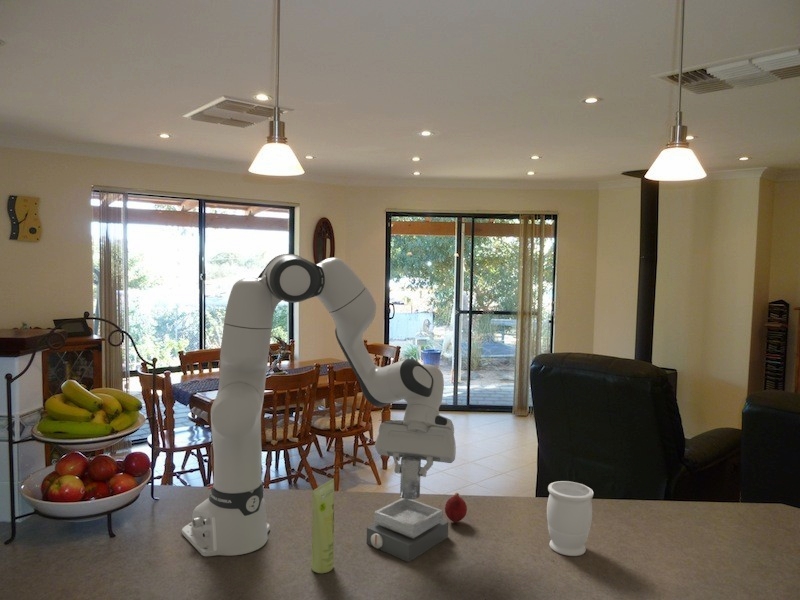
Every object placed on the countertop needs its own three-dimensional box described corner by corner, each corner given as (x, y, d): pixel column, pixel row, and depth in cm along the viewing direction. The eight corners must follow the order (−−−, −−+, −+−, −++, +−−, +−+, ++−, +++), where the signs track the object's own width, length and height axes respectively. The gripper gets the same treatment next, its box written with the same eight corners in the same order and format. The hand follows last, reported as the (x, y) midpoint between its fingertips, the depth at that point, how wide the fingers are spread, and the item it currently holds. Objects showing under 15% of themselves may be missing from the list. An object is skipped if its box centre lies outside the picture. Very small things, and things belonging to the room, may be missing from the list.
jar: (592, 544, 145) (595, 485, 144) (587, 563, 136) (590, 501, 135) (549, 534, 150) (552, 477, 148) (541, 552, 140) (544, 491, 139)
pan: (374, 522, 143) (374, 511, 143) (404, 507, 152) (404, 496, 152) (412, 538, 135) (413, 527, 135) (442, 521, 145) (442, 510, 145)
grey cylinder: (396, 495, 142) (397, 459, 141) (408, 489, 146) (409, 454, 145) (411, 501, 139) (412, 464, 138) (423, 495, 143) (424, 459, 142)
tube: (335, 574, 128) (336, 488, 127) (311, 576, 127) (313, 489, 125) (332, 561, 134) (333, 478, 132) (309, 563, 132) (311, 479, 131)
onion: (465, 529, 151) (466, 499, 151) (443, 526, 152) (444, 496, 152) (467, 519, 157) (468, 490, 156) (445, 516, 158) (447, 487, 157)
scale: (364, 544, 141) (364, 528, 141) (406, 521, 155) (407, 506, 154) (406, 563, 133) (407, 546, 133) (447, 537, 146) (448, 521, 146)
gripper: (379, 413, 150) (366, 463, 142) (457, 421, 145) (449, 473, 136) (383, 425, 155) (371, 474, 146) (460, 433, 150) (452, 484, 141)
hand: (409, 474), depth 141 cm, fingers closed on grey cylinder, 5 cm apart
